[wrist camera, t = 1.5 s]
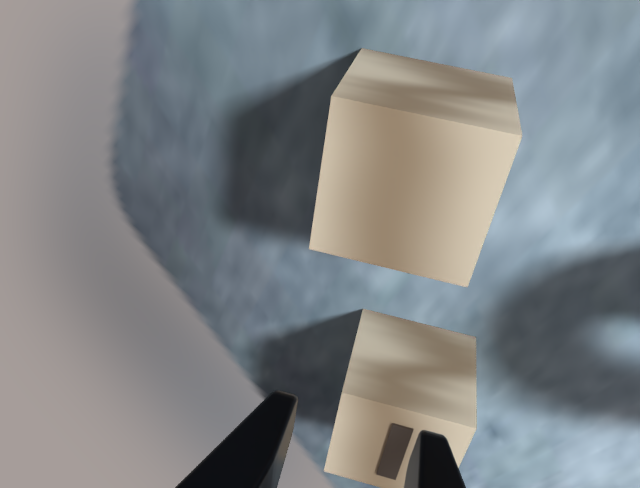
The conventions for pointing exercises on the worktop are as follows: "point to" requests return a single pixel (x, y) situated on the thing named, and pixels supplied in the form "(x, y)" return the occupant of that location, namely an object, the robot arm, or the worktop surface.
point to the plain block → (414, 165)
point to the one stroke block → (401, 398)
